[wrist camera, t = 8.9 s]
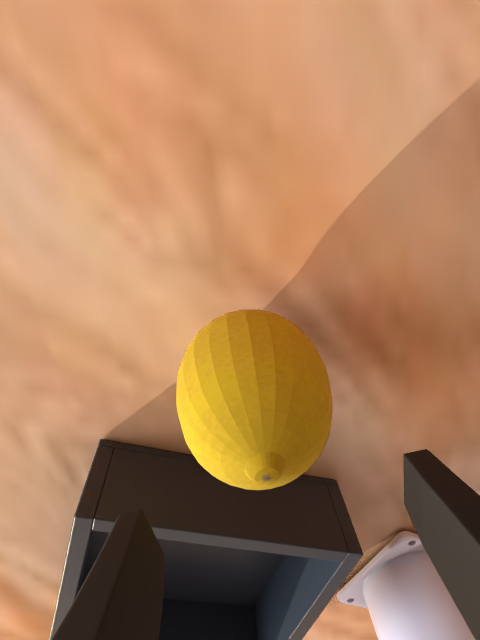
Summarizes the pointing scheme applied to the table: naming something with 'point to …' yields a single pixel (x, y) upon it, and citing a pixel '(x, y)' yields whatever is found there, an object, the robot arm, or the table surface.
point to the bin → (218, 544)
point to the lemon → (254, 400)
